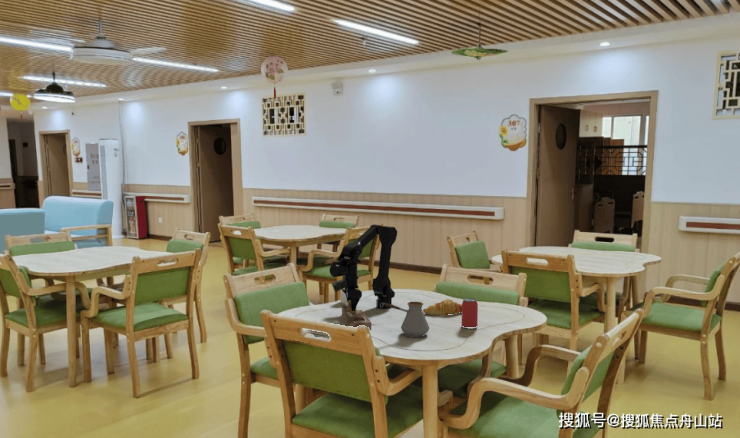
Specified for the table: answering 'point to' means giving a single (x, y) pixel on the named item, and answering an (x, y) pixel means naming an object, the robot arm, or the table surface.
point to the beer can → (469, 312)
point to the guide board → (355, 318)
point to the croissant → (444, 308)
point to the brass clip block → (349, 306)
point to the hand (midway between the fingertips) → (351, 308)
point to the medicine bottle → (342, 297)
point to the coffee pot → (413, 319)
